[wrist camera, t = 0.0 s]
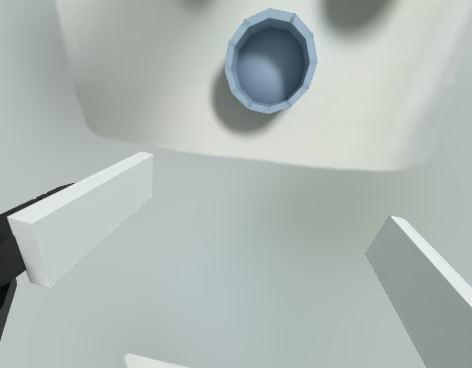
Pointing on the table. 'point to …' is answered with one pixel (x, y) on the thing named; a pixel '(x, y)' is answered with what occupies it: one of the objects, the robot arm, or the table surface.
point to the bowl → (270, 61)
